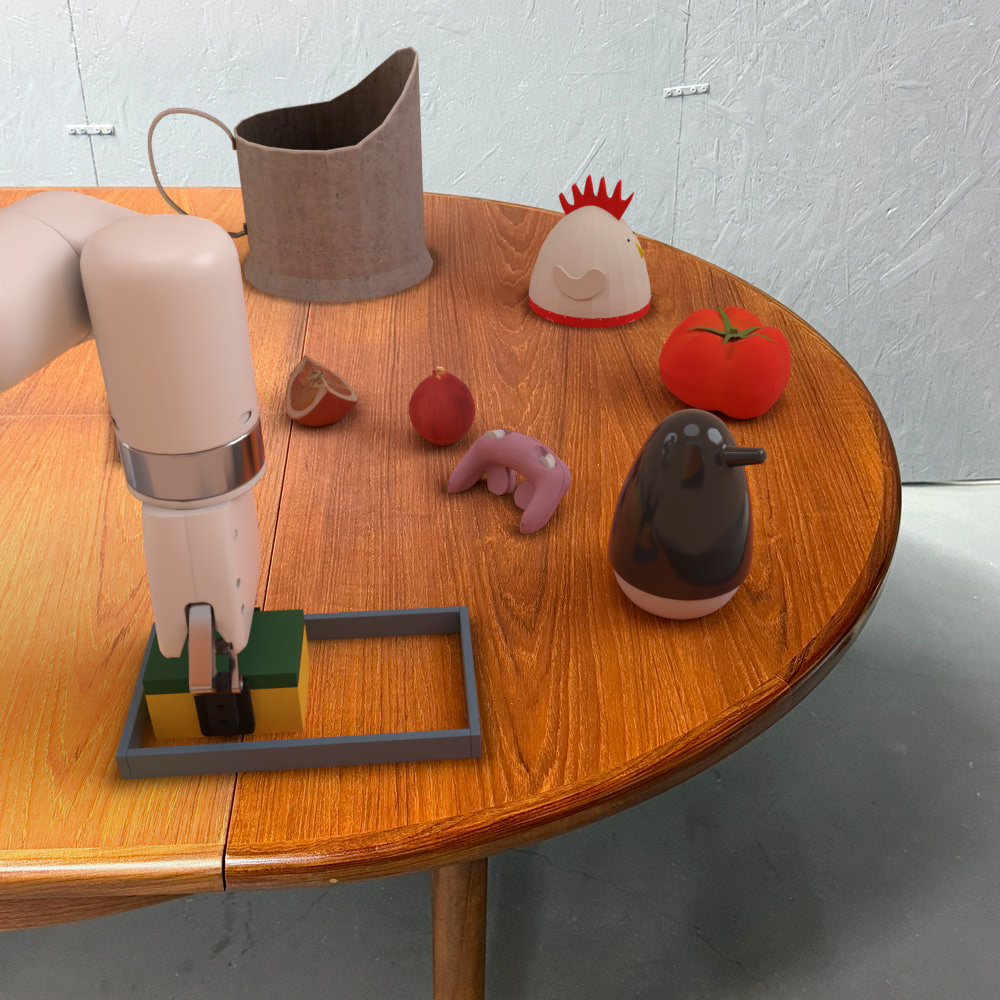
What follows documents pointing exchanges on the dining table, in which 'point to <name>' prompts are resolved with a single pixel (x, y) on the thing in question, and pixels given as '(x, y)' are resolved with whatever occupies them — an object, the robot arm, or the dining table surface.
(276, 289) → the pitcher
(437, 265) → the dining table surface
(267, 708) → the sponge
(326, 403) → the fruit slice
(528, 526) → the video game controller
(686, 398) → the tomato
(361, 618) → the rectangular frame
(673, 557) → the pump dispenser
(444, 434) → the onion
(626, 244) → the kitchen timer
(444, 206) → the dining table surface
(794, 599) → the dining table surface
